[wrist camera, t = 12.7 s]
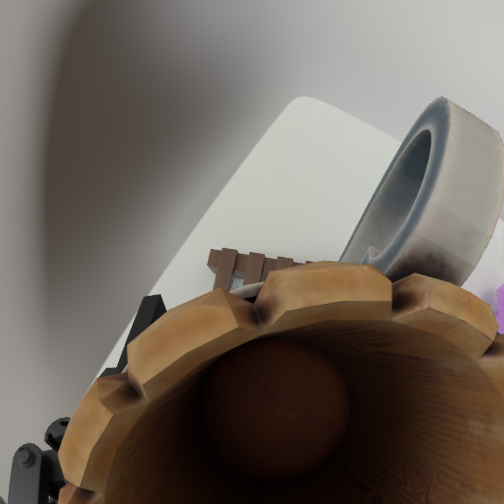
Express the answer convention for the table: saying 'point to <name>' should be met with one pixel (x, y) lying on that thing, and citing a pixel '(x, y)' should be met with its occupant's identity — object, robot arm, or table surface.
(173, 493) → the mug
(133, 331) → the robot arm
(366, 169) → the table surface
